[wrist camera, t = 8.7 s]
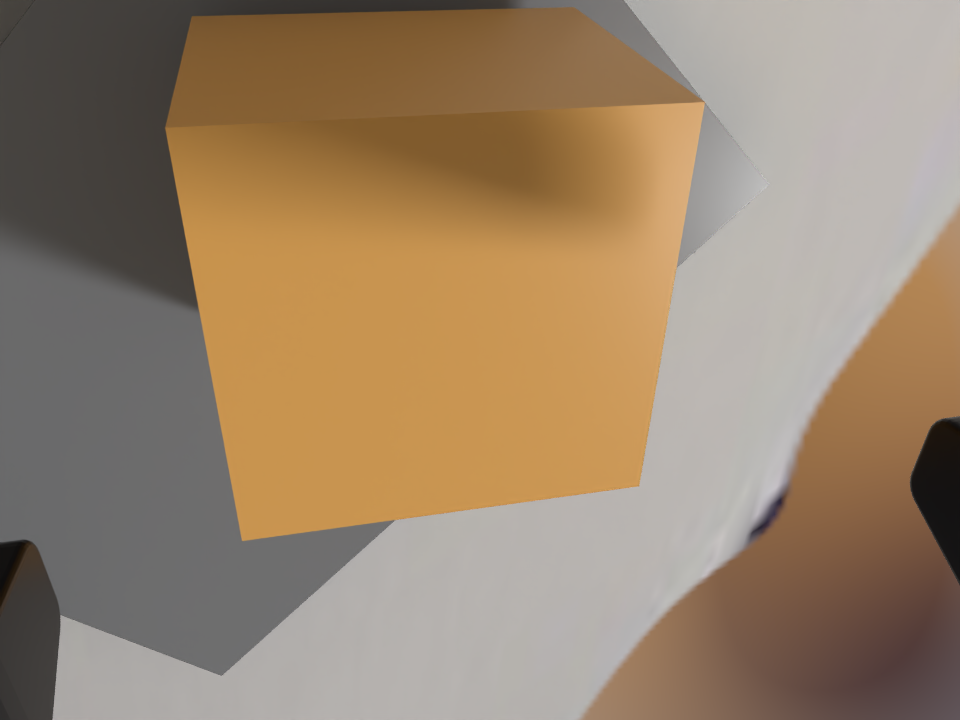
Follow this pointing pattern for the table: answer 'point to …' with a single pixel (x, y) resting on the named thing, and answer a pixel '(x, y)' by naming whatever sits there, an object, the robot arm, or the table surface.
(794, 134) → the table surface
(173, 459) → the plate
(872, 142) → the table surface
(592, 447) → the cardboard cube
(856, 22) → the table surface
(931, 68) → the table surface
